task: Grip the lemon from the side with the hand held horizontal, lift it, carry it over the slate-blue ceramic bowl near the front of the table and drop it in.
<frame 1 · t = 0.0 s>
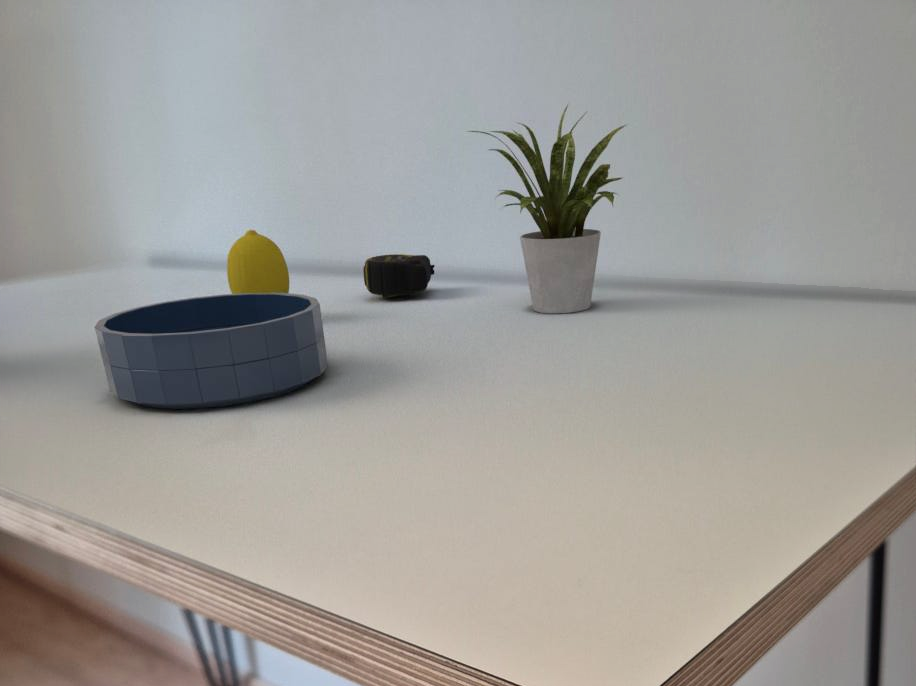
bowl: (223, 383, 70), on the table
house plant: (547, 311, 87), on the table
lemon: (266, 324, 90), on the table
tape measure: (406, 297, 99), on the table
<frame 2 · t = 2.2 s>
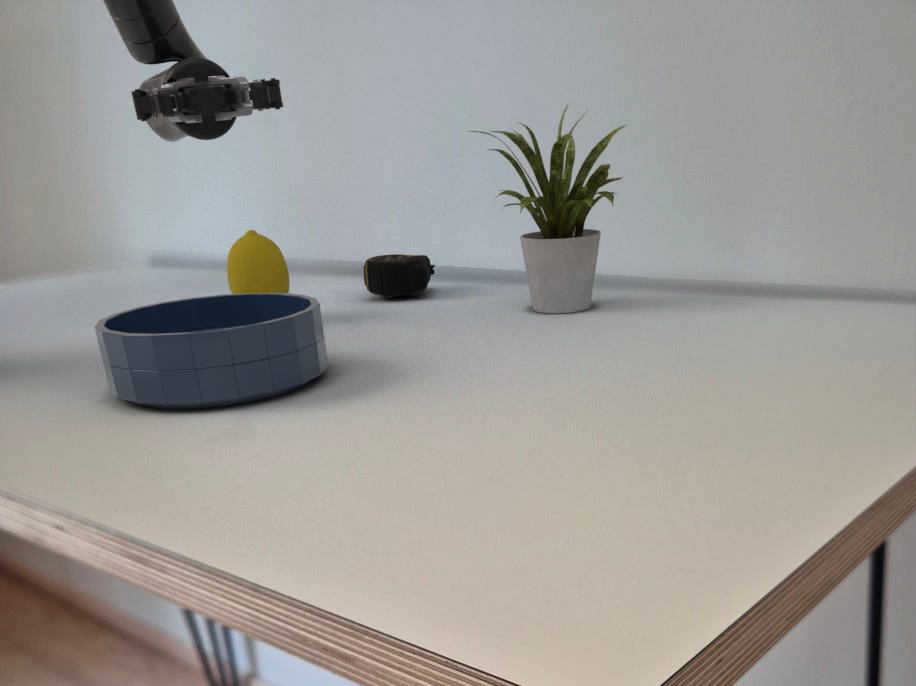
hand: (215, 99, 90), 19 cm above the table, tool horizontal, fingers open, 8 cm apart
nothing on the table moved.
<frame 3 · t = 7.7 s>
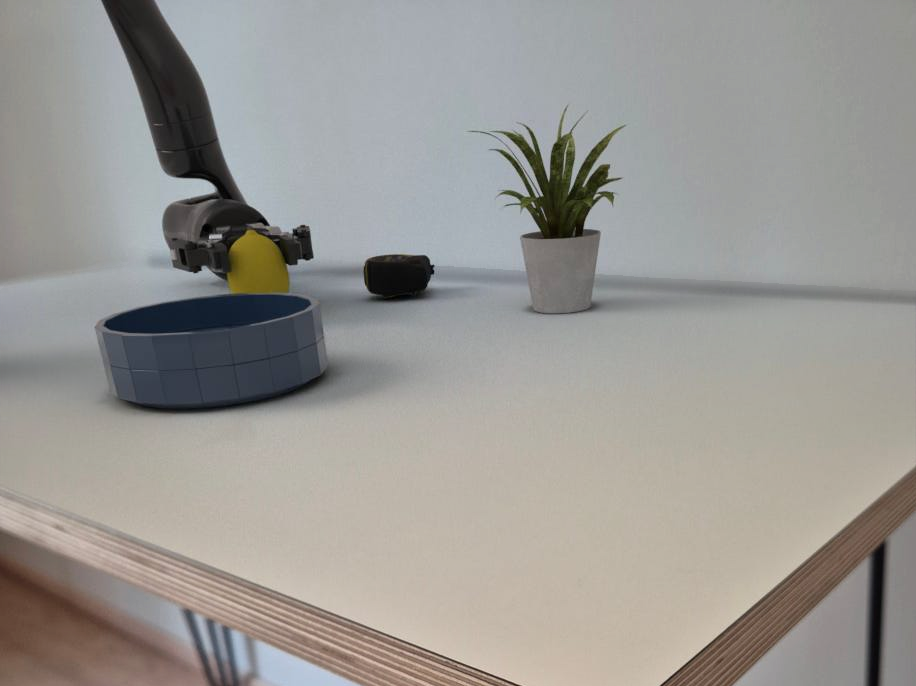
hand: (259, 256, 85), 6 cm above the table, tool horizontal, fingers closed on lemon, 5 cm apart
lemon: (266, 324, 90), on the table, touching gripper
everything else where it was.
when the fingers open (7 cm above the table, at t = 16.2 s): lemon stays where it is, resting on bowl.
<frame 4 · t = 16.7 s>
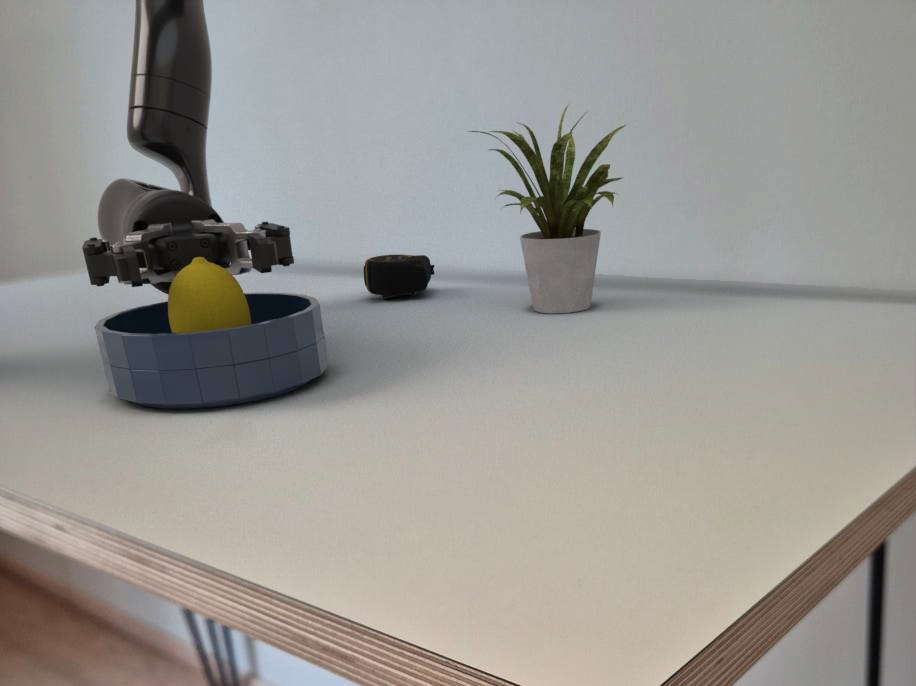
hand: (201, 262, 64), 8 cm above the table, tool horizontal, fingers open, 8 cm apart
lemon: (221, 377, 69), resting on bowl
everything else where it was.
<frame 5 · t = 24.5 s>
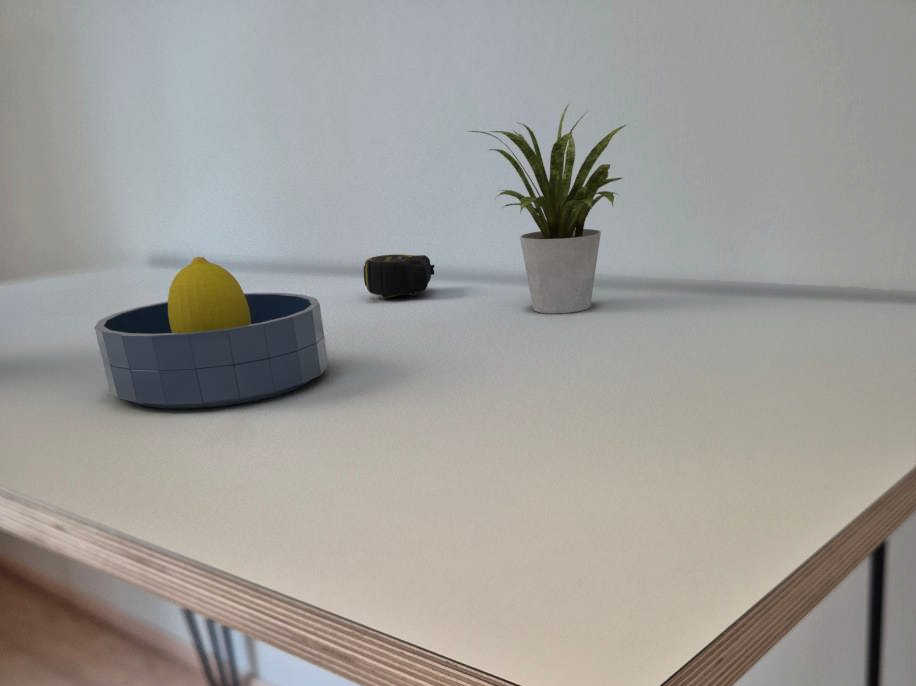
nothing on the table moved.
at the end: lemon inside the target area in the bowl (0.1 cm from its centre), point 0.4 cm above the bowl's base; the gripper is holding nothing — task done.
